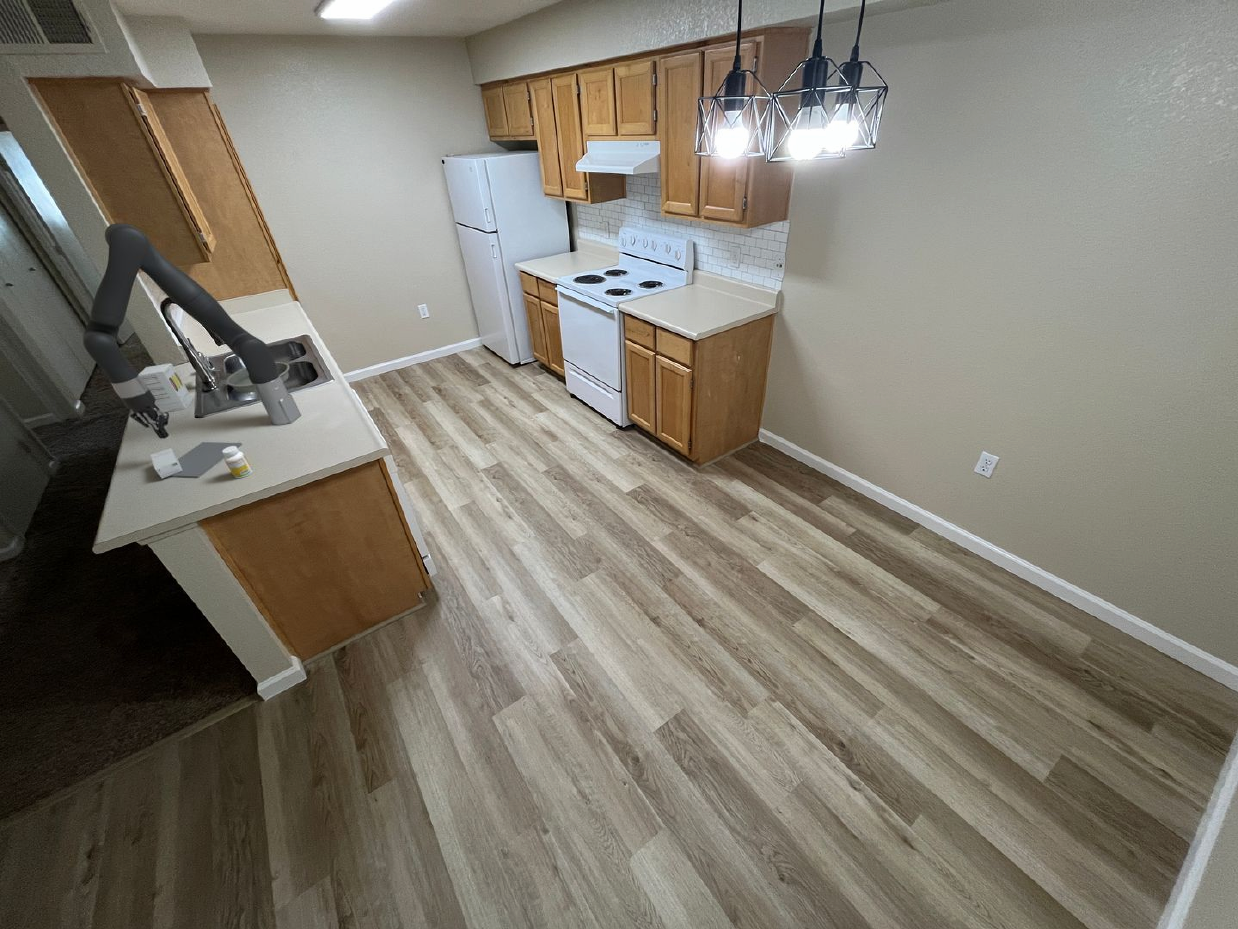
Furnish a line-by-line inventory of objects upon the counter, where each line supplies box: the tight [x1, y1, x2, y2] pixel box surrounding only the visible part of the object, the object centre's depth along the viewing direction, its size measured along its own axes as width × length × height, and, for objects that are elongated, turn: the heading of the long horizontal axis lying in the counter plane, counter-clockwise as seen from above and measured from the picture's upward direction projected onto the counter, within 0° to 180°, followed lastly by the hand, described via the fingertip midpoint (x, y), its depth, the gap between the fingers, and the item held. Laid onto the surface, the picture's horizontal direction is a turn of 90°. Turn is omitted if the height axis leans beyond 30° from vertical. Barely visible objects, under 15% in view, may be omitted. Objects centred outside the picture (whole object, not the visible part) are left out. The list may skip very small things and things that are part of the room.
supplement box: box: [137, 363, 194, 413], centre depth 207 cm, size 10×9×17 cm
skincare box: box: [150, 447, 183, 480], centre depth 170 cm, size 6×4×12 cm
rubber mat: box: [155, 441, 243, 479], centre depth 176 cm, size 16×20×1 cm
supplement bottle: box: [222, 446, 254, 479], centre depth 165 cm, size 5×5×10 cm
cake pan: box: [225, 361, 290, 394], centre depth 226 cm, size 25×25×4 cm
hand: (164, 437), depth 172 cm, fingers closed
